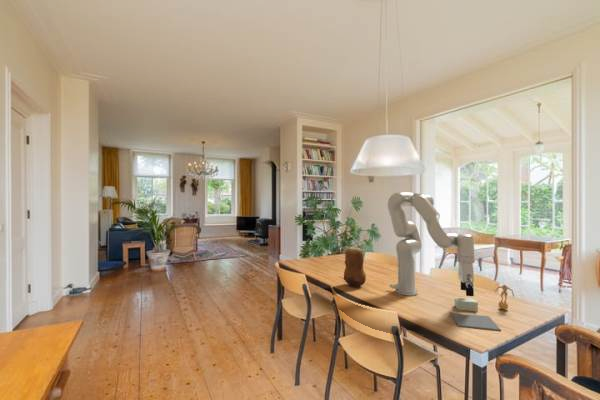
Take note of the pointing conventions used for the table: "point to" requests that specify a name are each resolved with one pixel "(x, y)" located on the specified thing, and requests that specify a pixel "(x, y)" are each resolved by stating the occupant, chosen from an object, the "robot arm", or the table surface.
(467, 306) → the card box
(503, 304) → the figurine
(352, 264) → the brown tall rounded piece
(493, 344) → the table surface
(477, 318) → the mat
